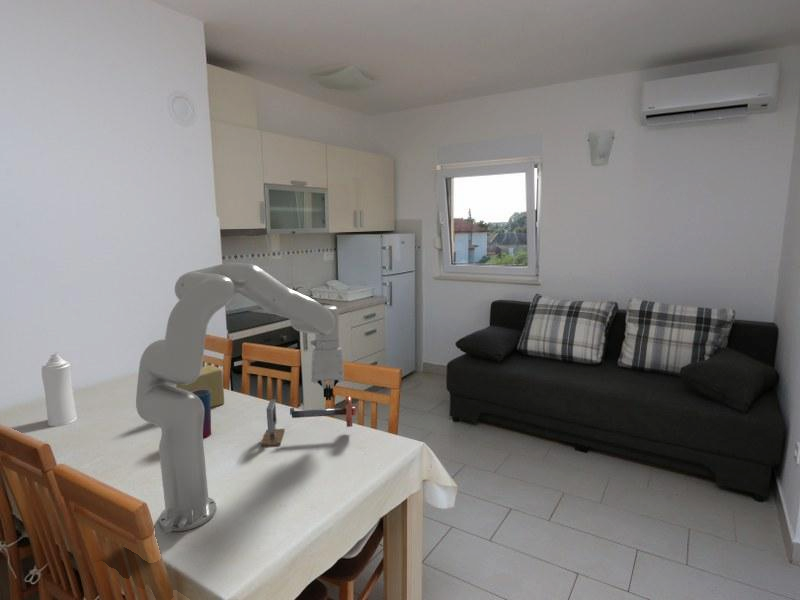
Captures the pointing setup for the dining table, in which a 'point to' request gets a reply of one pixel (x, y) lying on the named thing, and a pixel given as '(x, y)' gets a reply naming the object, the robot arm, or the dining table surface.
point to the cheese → (208, 384)
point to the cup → (205, 409)
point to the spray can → (58, 391)
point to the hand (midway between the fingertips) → (328, 398)
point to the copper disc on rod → (328, 412)
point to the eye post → (272, 427)
